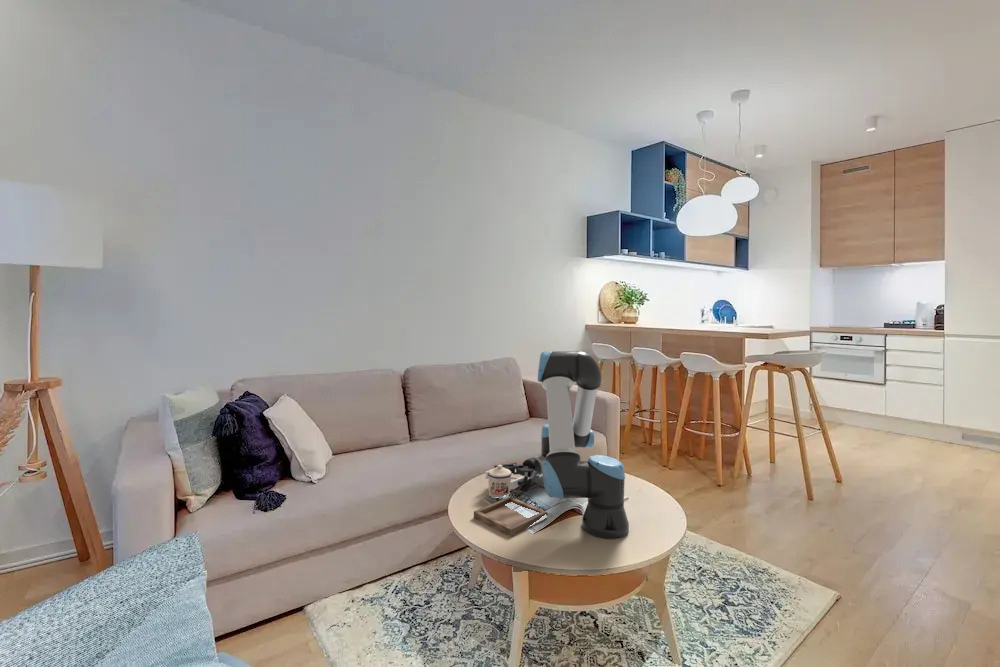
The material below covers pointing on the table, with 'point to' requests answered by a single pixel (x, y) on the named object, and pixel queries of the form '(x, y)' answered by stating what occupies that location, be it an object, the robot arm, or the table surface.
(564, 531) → the table surface
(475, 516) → the tray
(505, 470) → the teacup with lid
